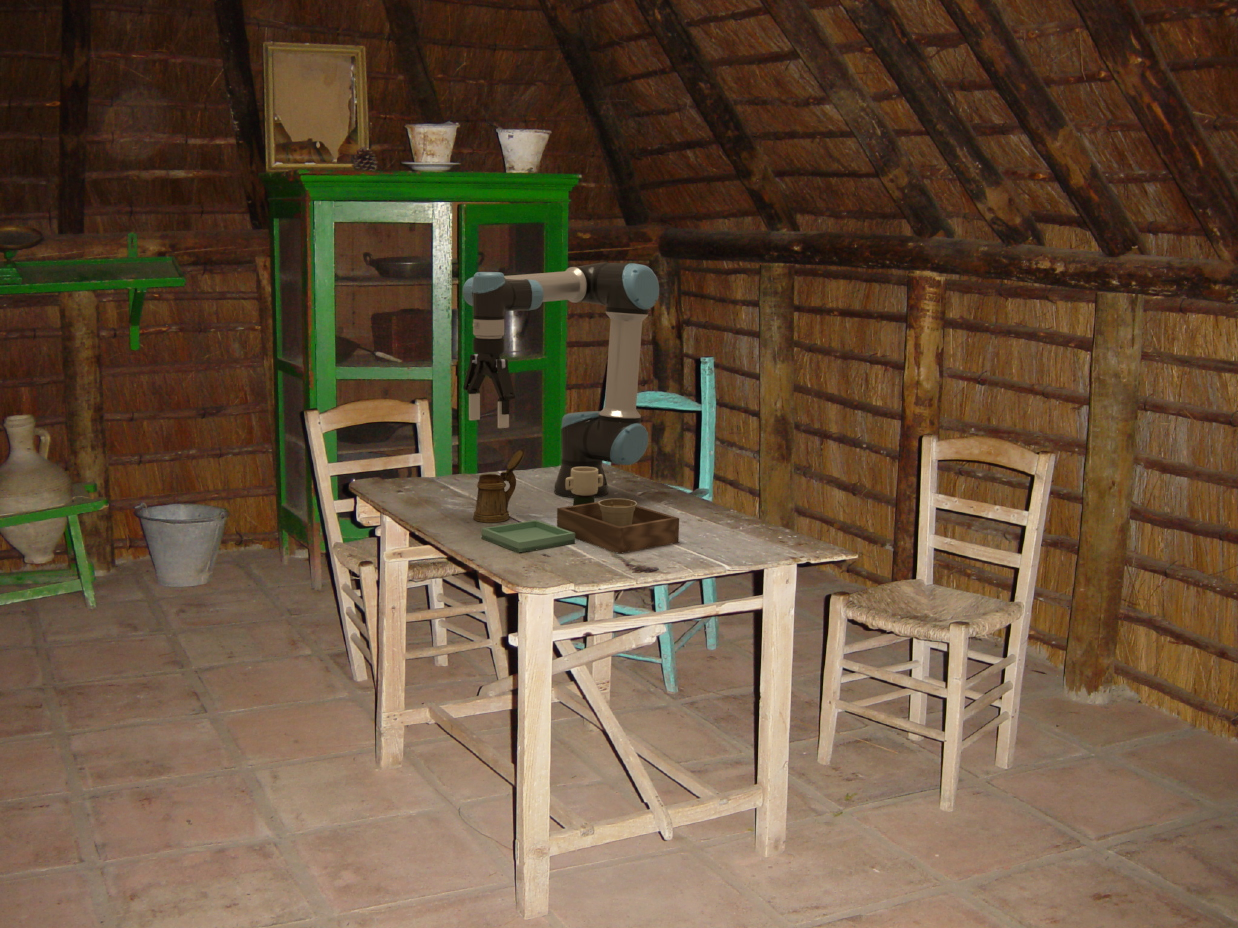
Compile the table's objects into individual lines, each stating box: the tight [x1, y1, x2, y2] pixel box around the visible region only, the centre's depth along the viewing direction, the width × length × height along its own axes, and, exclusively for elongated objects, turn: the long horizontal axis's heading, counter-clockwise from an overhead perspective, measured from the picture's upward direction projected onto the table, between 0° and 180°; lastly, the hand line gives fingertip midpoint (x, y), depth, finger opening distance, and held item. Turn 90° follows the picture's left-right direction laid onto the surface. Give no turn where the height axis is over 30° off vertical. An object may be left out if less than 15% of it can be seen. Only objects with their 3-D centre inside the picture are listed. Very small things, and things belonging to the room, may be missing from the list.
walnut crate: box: [556, 501, 680, 554], centre depth 294 cm, size 18×24×6 cm
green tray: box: [481, 519, 576, 553], centre depth 289 cm, size 16×16×2 cm
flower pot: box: [597, 498, 638, 527], centre depth 294 cm, size 9×9×9 cm
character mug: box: [565, 467, 603, 506], centre depth 312 cm, size 11×7×13 cm, turn 120°
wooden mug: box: [473, 447, 526, 524], centre depth 309 cm, size 9×14×18 cm, turn 112°
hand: (488, 423), depth 296 cm, fingers open, 13 cm apart
